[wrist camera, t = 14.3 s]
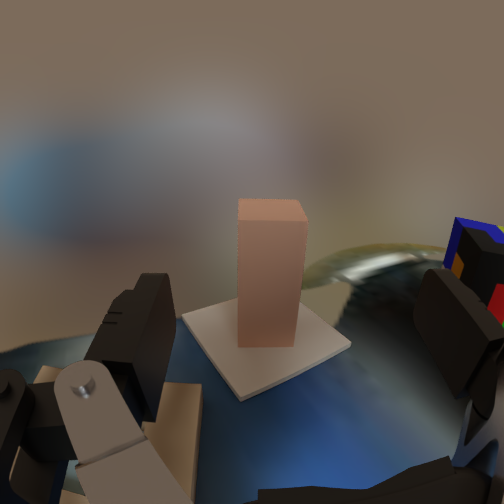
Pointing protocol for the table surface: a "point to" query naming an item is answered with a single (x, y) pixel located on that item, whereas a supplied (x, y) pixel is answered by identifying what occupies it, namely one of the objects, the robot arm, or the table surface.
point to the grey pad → (261, 348)
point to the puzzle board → (162, 433)
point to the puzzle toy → (479, 261)
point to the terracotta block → (270, 270)
